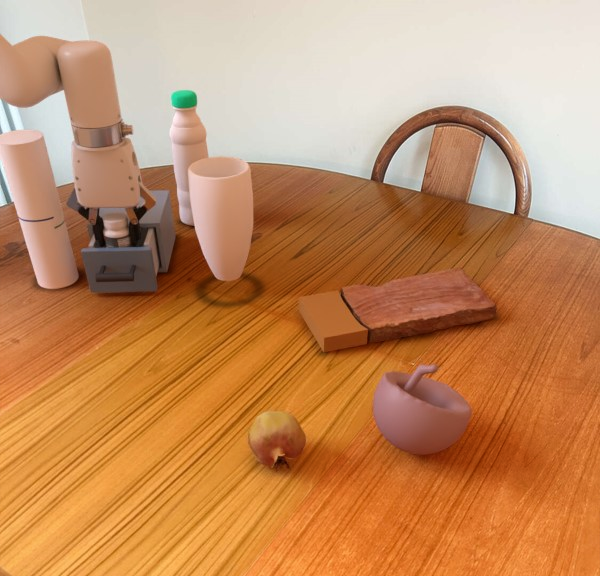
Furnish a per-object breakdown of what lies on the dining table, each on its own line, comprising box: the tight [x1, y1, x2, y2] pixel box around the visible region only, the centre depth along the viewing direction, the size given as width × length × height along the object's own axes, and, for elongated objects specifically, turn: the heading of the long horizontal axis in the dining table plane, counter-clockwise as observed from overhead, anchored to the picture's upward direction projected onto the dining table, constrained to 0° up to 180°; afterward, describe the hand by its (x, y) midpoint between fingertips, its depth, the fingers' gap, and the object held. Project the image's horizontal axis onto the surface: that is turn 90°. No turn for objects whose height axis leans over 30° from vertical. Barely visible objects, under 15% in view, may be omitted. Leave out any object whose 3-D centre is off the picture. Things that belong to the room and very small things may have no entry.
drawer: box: [80, 227, 161, 294], centre depth 114 cm, size 18×11×8 cm, turn 2°
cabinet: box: [86, 189, 177, 273], centre depth 122 cm, size 15×13×10 cm
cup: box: [188, 156, 254, 282], centre depth 108 cm, size 10×10×22 cm
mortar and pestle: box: [372, 363, 472, 456], centre depth 81 cm, size 12×12×11 cm
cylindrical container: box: [0, 128, 80, 290], centre depth 110 cm, size 7×7×25 cm
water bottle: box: [169, 89, 210, 227], centre depth 129 cm, size 7×7×25 cm
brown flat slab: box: [298, 267, 498, 353], centre depth 107 cm, size 13×30×3 cm, turn 108°
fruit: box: [247, 410, 307, 473], centre depth 81 cm, size 7×7×10 cm
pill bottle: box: [103, 212, 133, 248], centre depth 111 cm, size 5×5×8 cm
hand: (119, 242), depth 112 cm, fingers closed on pill bottle, 4 cm apart
